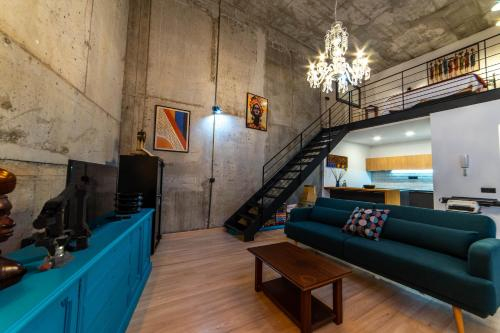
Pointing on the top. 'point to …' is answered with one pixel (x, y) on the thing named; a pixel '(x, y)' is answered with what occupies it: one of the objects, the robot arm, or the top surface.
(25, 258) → the top surface
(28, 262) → the top surface
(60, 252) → the coupling
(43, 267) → the valve body
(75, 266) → the top surface
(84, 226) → the robot arm
